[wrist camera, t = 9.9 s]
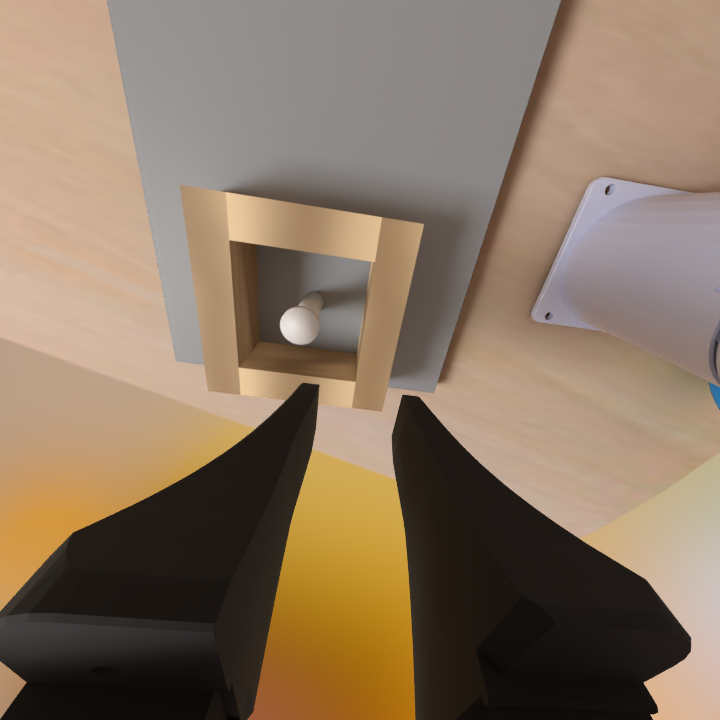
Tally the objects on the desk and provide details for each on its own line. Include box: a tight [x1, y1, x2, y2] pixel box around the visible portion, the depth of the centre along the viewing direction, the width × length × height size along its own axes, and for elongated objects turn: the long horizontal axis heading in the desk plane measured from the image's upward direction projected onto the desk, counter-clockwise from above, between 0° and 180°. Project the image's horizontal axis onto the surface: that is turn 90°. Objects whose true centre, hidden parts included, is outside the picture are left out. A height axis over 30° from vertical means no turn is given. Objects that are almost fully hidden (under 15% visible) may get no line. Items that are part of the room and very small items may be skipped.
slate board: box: [107, 0, 561, 393], centre depth 13 cm, size 18×22×6 cm
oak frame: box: [180, 185, 424, 411], centre depth 15 cm, size 10×10×4 cm
